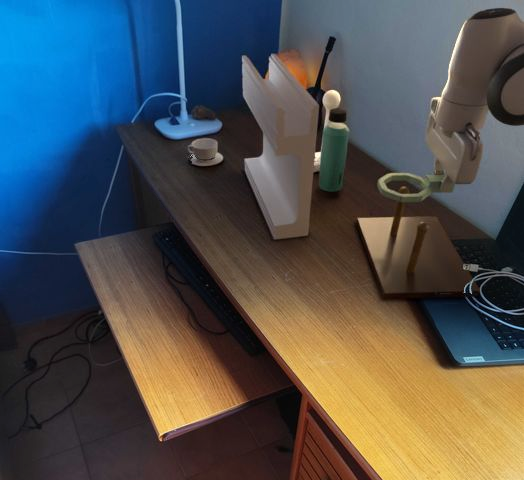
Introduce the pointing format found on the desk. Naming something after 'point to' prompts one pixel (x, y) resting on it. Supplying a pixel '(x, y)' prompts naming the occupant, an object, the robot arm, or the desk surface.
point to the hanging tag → (427, 184)
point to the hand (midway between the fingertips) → (440, 184)
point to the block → (282, 147)
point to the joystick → (327, 118)
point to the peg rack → (413, 256)
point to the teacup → (205, 152)
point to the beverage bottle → (334, 151)
